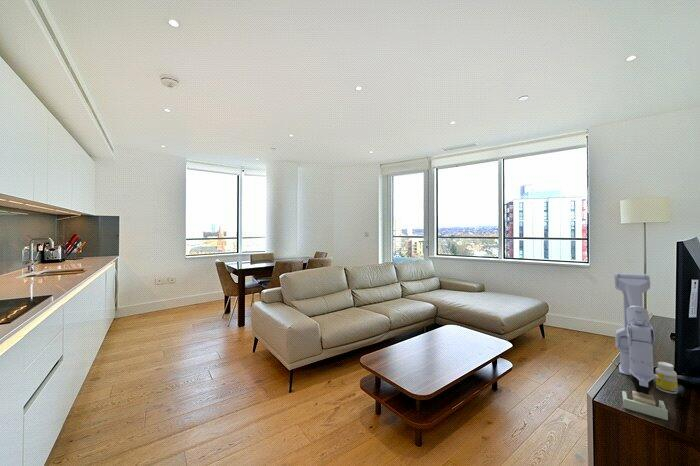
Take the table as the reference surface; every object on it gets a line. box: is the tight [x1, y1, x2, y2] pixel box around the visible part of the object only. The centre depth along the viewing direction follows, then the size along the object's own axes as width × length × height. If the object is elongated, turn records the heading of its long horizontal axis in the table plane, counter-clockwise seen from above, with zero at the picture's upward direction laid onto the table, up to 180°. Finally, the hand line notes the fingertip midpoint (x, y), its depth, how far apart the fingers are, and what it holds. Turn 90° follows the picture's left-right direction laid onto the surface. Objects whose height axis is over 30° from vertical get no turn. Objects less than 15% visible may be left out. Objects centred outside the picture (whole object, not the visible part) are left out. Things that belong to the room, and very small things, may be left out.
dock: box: [621, 390, 669, 421], centre depth 94 cm, size 9×10×3 cm
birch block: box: [631, 390, 657, 407], centre depth 94 cm, size 5×5×4 cm
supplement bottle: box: [654, 361, 679, 395], centre depth 105 cm, size 5×5×10 cm
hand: (642, 398), depth 97 cm, fingers closed
